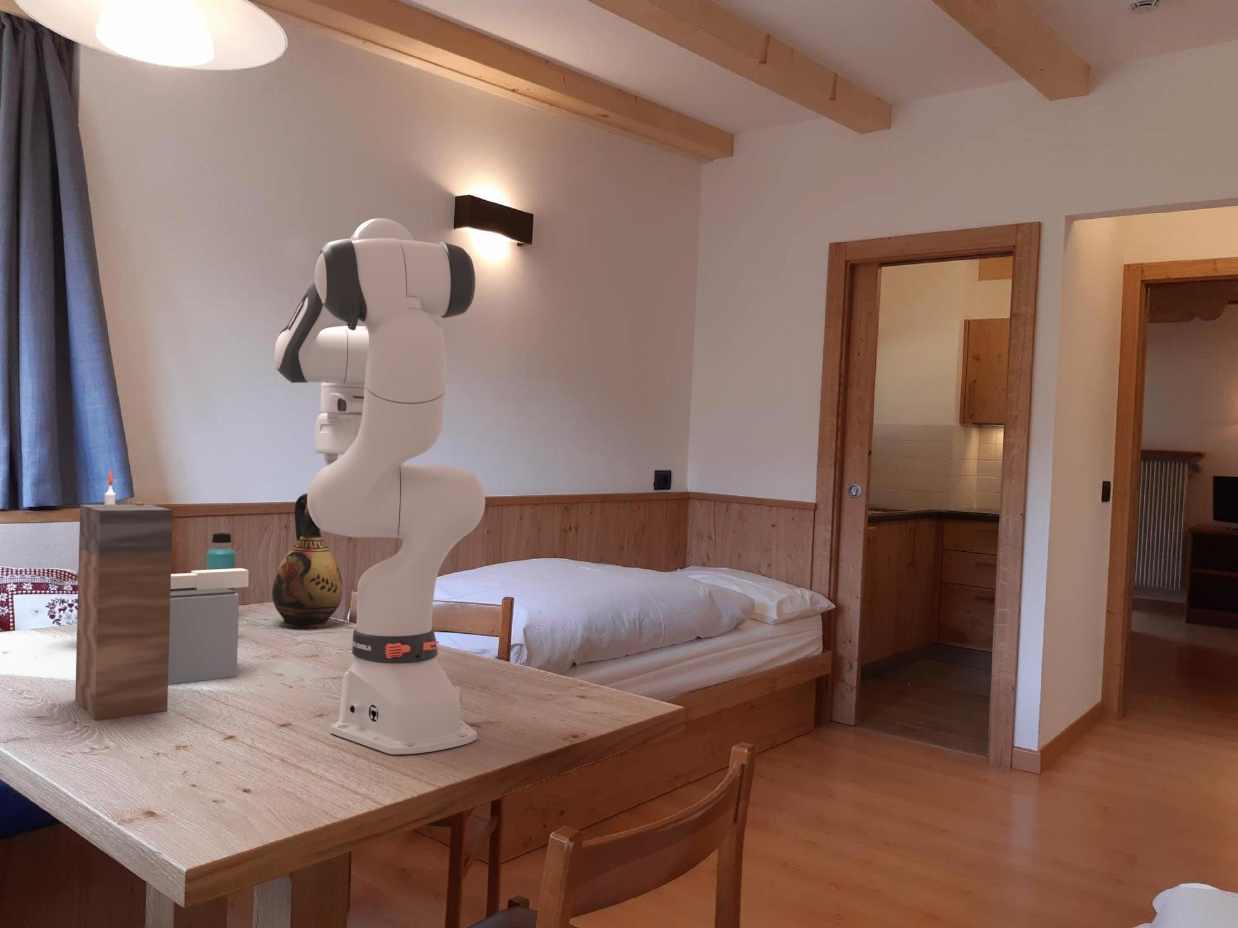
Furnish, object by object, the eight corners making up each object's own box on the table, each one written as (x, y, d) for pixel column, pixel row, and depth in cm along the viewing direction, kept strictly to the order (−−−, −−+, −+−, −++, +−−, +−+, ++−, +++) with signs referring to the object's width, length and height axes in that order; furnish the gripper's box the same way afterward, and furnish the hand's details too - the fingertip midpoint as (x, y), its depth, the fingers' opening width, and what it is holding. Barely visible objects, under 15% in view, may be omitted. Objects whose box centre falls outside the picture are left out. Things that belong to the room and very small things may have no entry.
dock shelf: (236, 676, 175) (239, 591, 175) (138, 687, 165) (141, 597, 165) (211, 661, 186) (214, 581, 186) (118, 671, 176) (120, 587, 175)
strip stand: (167, 710, 152) (172, 507, 151) (94, 720, 145) (100, 508, 145) (143, 691, 162) (148, 501, 162) (75, 699, 156) (80, 502, 156)
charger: (248, 586, 181) (248, 570, 181) (151, 592, 170) (152, 575, 170) (241, 584, 184) (242, 568, 184) (146, 589, 173) (147, 572, 173)
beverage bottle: (202, 621, 225) (204, 534, 225) (206, 616, 232) (208, 531, 231) (232, 621, 227) (235, 534, 227) (235, 616, 233) (238, 531, 233)
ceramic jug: (355, 626, 226) (359, 495, 225) (293, 634, 214) (297, 496, 214) (315, 616, 237) (318, 491, 237) (254, 623, 226) (258, 492, 225)
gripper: (306, 404, 188) (304, 477, 188) (352, 402, 172) (350, 481, 172) (338, 406, 192) (336, 477, 192) (385, 404, 176) (383, 482, 176)
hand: (343, 479), depth 182 cm, fingers open, 8 cm apart
